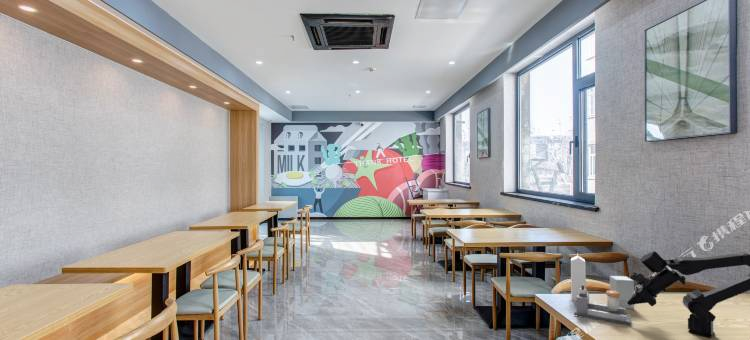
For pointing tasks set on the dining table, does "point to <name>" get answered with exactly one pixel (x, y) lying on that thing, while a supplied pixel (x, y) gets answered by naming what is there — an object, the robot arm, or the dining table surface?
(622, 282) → the supplement box
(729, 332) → the dining table surface
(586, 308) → the mount
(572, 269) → the milk
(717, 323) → the dining table surface
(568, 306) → the dining table surface
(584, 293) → the potentiometer
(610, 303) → the knob
